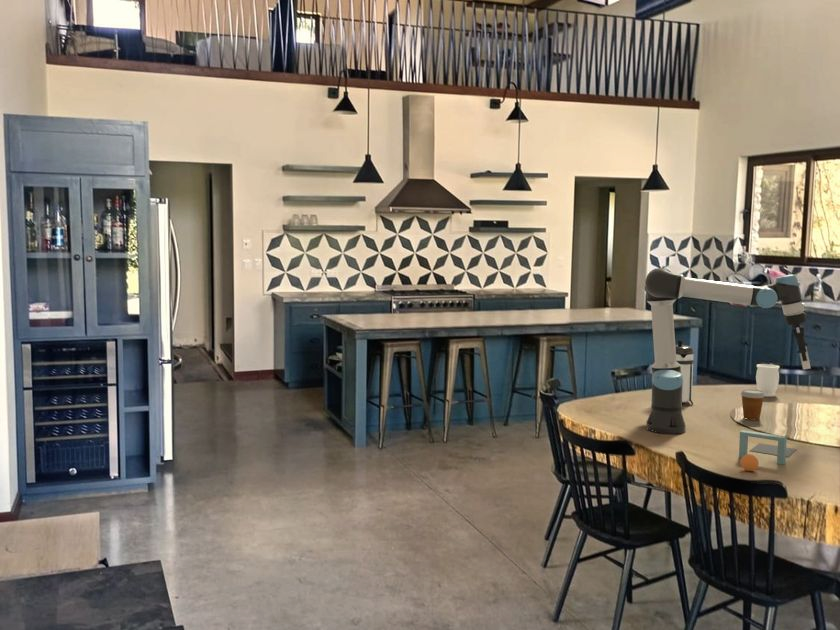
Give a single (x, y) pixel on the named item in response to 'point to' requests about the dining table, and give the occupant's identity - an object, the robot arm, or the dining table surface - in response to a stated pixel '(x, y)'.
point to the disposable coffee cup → (752, 403)
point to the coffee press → (685, 369)
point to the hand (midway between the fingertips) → (806, 365)
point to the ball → (749, 462)
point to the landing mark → (771, 449)
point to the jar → (767, 379)
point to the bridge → (781, 439)
